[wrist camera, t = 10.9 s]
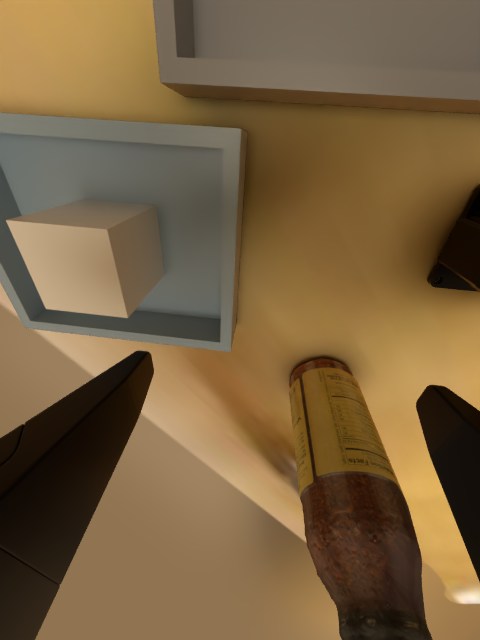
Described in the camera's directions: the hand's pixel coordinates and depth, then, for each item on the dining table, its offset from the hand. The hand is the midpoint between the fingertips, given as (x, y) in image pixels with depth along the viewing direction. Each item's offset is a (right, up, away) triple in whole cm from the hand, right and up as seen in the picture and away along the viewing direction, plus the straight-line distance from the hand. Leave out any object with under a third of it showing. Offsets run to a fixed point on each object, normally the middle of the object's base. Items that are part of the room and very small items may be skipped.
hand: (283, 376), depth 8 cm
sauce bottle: (+7, -4, +17) cm, 18 cm away
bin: (-10, +8, +10) cm, 16 cm away
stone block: (-10, +8, +10) cm, 16 cm away
